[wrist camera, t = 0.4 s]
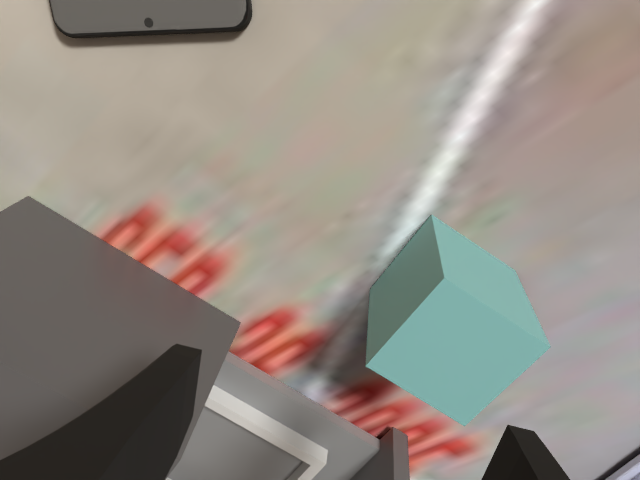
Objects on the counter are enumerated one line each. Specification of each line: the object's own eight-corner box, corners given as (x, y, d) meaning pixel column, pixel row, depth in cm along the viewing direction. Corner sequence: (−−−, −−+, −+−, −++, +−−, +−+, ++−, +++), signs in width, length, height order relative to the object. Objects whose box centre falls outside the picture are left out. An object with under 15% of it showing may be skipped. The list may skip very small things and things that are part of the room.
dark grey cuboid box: (240, 322, 23) (180, 460, 16) (123, 487, 28) (41, 643, 21) (28, 196, 22) (-135, 288, 15) (-55, 393, 27) (-203, 529, 20)
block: (514, 269, 21) (550, 347, 16) (448, 338, 22) (464, 426, 18) (431, 213, 20) (444, 277, 16) (369, 288, 22) (365, 366, 17)
